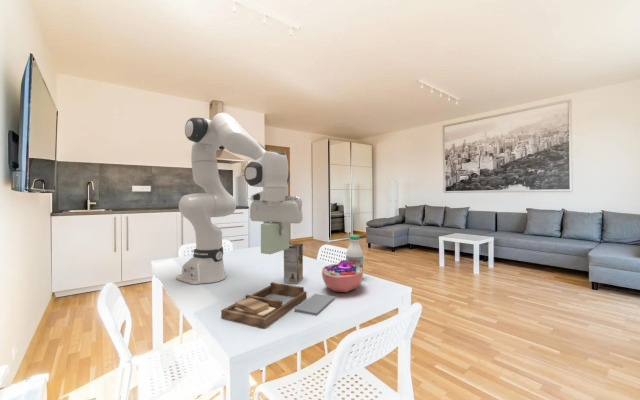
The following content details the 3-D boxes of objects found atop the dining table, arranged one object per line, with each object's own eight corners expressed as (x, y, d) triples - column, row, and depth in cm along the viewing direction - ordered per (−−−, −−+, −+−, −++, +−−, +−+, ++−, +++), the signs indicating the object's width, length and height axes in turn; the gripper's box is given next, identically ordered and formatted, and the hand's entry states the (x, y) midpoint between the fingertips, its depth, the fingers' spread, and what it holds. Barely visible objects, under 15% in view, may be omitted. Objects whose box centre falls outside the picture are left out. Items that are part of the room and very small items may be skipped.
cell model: (312, 293, 111) (312, 264, 110) (333, 280, 128) (334, 255, 128) (353, 301, 103) (353, 270, 102) (370, 285, 120) (370, 259, 120)
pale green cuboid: (260, 253, 97) (260, 224, 96) (279, 247, 108) (280, 221, 107) (270, 254, 95) (270, 224, 95) (289, 248, 106) (289, 221, 106)
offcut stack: (230, 316, 91) (230, 302, 90) (247, 309, 97) (247, 295, 96) (261, 326, 84) (261, 311, 84) (276, 317, 90) (276, 303, 90)
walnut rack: (221, 318, 88) (221, 305, 88) (269, 291, 112) (269, 281, 112) (264, 328, 82) (264, 314, 82) (306, 298, 106) (306, 287, 105)
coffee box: (289, 277, 132) (289, 243, 132) (303, 278, 131) (303, 243, 131) (283, 283, 123) (283, 246, 123) (297, 284, 122) (297, 247, 122)
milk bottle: (344, 276, 134) (344, 234, 133) (360, 276, 134) (360, 234, 134) (347, 281, 126) (347, 236, 125) (364, 281, 127) (364, 236, 126)
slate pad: (294, 311, 94) (294, 309, 94) (315, 295, 108) (315, 293, 108) (316, 315, 90) (316, 313, 90) (334, 298, 105) (334, 296, 105)
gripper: (305, 196, 99) (305, 235, 100) (258, 195, 108) (257, 232, 108) (297, 196, 94) (296, 238, 94) (247, 195, 102) (247, 234, 102)
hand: (275, 234), depth 101 cm, fingers closed on pale green cuboid, 4 cm apart
